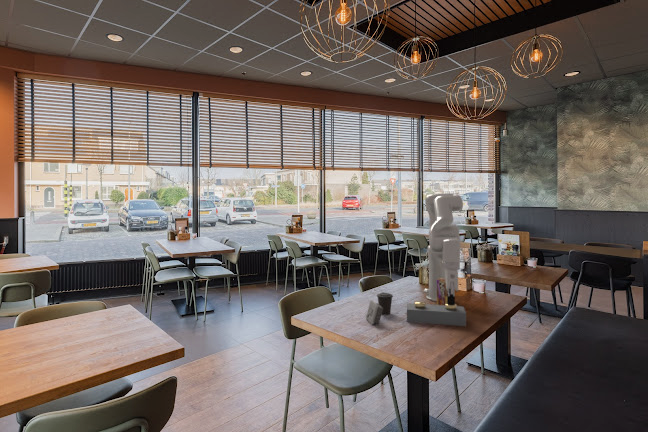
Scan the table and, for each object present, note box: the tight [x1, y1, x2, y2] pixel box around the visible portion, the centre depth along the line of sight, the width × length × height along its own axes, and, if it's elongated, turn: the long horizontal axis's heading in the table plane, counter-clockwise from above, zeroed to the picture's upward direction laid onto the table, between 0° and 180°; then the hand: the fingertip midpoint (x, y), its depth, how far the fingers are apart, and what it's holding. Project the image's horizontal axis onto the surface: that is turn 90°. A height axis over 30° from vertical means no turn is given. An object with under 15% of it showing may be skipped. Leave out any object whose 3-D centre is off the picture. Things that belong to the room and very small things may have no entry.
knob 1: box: [414, 300, 426, 308], centre depth 171 cm, size 5×5×6 cm
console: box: [406, 302, 467, 327], centre depth 169 cm, size 26×10×6 cm, turn 76°
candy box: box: [436, 278, 448, 305], centre depth 186 cm, size 9×4×15 cm, turn 20°
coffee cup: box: [376, 292, 394, 316], centre depth 181 cm, size 8×8×10 cm
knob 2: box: [445, 303, 458, 310], centre depth 167 cm, size 5×5×6 cm
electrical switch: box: [365, 300, 383, 326], centre depth 169 cm, size 9×5×9 cm, turn 10°
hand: (451, 304), depth 167 cm, fingers closed
